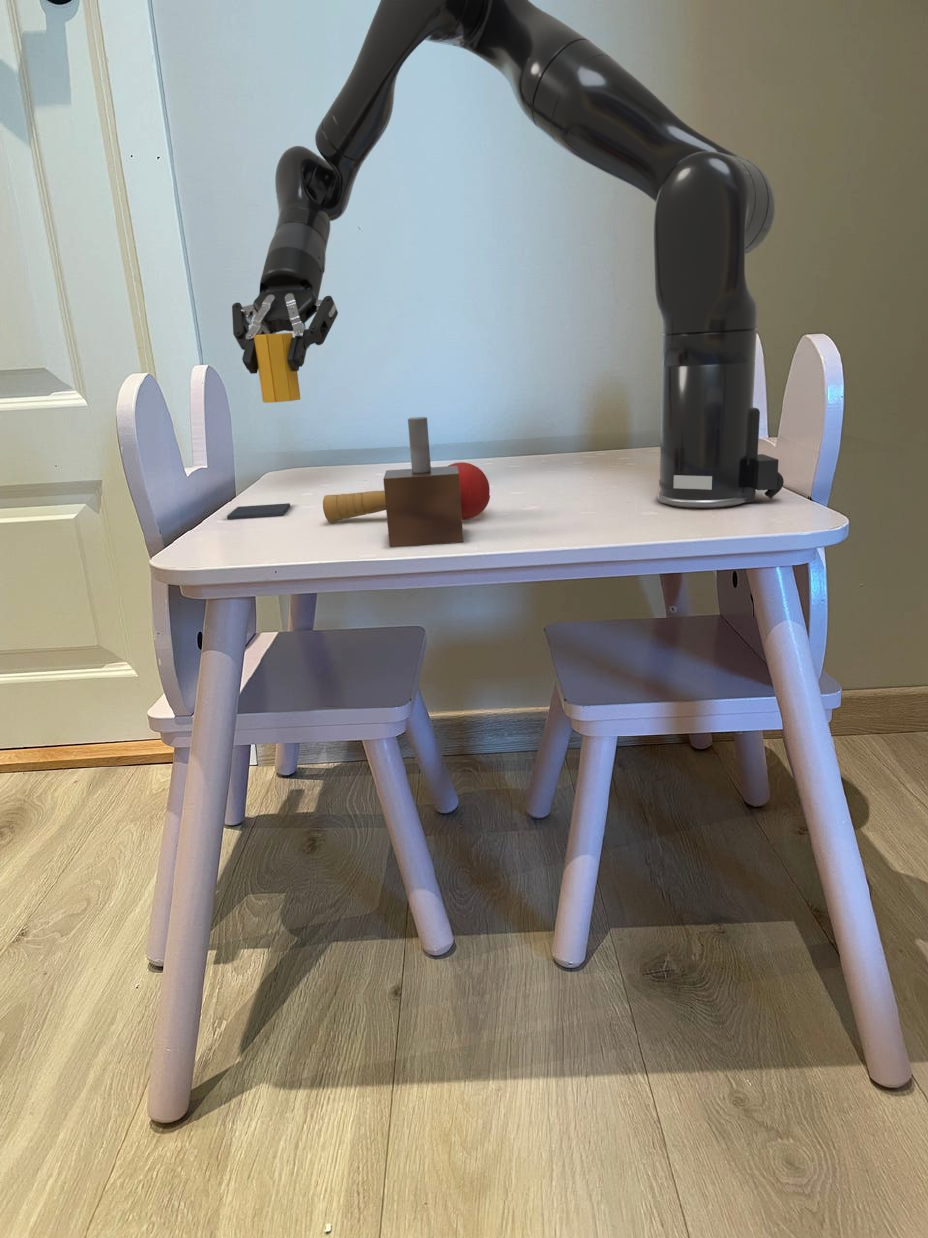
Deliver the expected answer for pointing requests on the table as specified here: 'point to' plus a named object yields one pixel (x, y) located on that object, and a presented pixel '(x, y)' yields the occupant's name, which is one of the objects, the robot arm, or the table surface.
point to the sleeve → (276, 368)
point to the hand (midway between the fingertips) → (271, 367)
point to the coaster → (259, 511)
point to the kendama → (358, 504)
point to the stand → (422, 497)
